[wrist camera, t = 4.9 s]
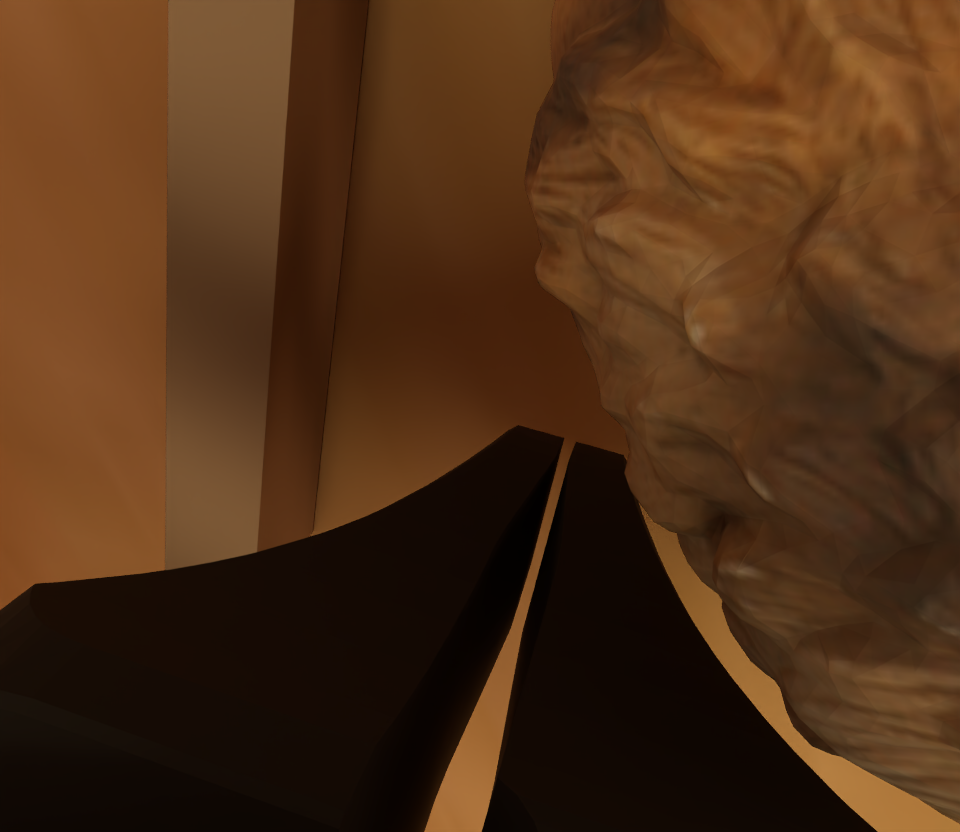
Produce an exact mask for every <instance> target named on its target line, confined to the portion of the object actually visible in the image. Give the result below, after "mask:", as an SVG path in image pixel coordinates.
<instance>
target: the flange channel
mask: <svg viewBox="0 0 960 832" xmlns="http://www.w3.org/2000/svg"><path fill="white" fill-rule="evenodd" d="M368 1H369V0H168V137H167V338H166V538H165V570H170V569H176V568H182V567H187V566H193V565H199V564H204V563H210V562H215V561H219V560H224V559H229V558H233V557H238V556H243V555H247V554H251V553H255V552H259V551H262V550H266V549H269V548H273V547H276V546H280V545H283V544H287V543H290V542H293V541H297V540H300V539H304V538H307V537H309V536H310V535H311V533H312V532H313V523H314V513H315V504H316V494H317V485H318V475H319V466H320V456H321V447H322V437H323V428H324V418H325V409H326V399H327V390H328V380H329V371H330V362H331V352H332V343H333V333H334V324H335V314H336V305H337V295H338V286H339V276H340V267H341V257H342V248H343V238H344V229H345V219H346V210H347V200H348V191H349V181H350V172H351V162H352V153H353V143H354V134H355V125H356V115H357V106H358V96H359V87H360V77H361V68H362V58H363V49H364V39H365V30H366V20H367V11H368Z"/></svg>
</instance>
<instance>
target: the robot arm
mask: <svg viewBox="0 0 960 832" xmlns="http://www.w3.org/2000/svg"><path fill="white" fill-rule="evenodd" d="M563 441H564V438H562V437H558V436H555V435H551V434H548V433H544V432H540V431H537V430H533V429H530V428H526V427H523V426H519V425H518V426H516V427H514V428H512V429H510V430H508V431H507V432H506V433H504V434H503V435H502V436H500V437H499V438H498V439H496V440H495V441H494V442H492V443H491V444H490V445H488V446H487V447H486V448H484V449H483V450H481V451H480V452H478V453H477V454H476V455H474V456H473V457H471V458H470V459H468V460H467V461H465V462H464V463H462V464H461V465H459V466H457V467H456V468H454V469H453V470H451V471H450V472H448V473H446V474H445V475H443V476H442V477H440V478H438V479H437V480H435V481H434V482H432V483H430V484H428V485H427V486H425V487H423V488H421V489H419V490H417V491H415V492H414V493H412V494H410V495H408V496H406V497H404V498H402V499H401V500H399V501H397V502H395V503H393V504H391V505H389V506H387V507H385V508H383V509H381V510H379V511H377V512H375V513H372V514H370V515H368V516H366V517H363V518H361V519H358V520H356V521H353V522H350V523H348V524H345V525H343V526H340V527H338V528H335V529H332V530H329V531H327V532H324V533H321V534H317V535H314V536H311V537H307V538H304V539H300V540H297V541H293V542H290V543H287V544H283V545H280V546H276V547H273V548H269V549H266V550H262V551H259V552H255V553H251V554H247V555H243V556H238V557H233V558H229V559H224V560H219V561H215V562H210V563H204V564H199V565H193V566H187V567H182V568H176V569H170V570H164V571H157V572H150V573H143V574H134V575H124V576H114V577H105V578H95V579H85V580H76V581H66V582H54V583H40V584H34V585H33V586H32V587H30V588H29V589H28V590H26V591H25V592H24V593H22V594H21V595H20V596H18V597H17V598H16V599H14V600H13V601H12V602H11V603H9V604H8V605H7V606H5V607H4V608H3V609H1V610H0V832H424V831H425V828H426V825H427V822H428V819H429V816H430V813H431V810H432V807H433V804H434V801H435V798H436V796H437V793H438V791H439V788H440V786H441V783H442V781H443V778H444V776H445V773H446V771H447V768H448V766H449V764H450V762H451V759H452V757H453V755H454V753H455V751H456V748H457V746H458V744H459V742H460V740H461V737H462V735H463V733H464V731H465V728H466V726H467V724H468V722H469V720H470V717H471V715H472V713H473V711H474V709H475V706H476V704H477V702H478V700H479V698H480V695H481V693H482V691H483V689H484V687H485V684H486V682H487V680H488V678H489V675H490V673H491V671H492V669H493V667H494V664H495V662H496V660H497V658H498V655H499V653H500V651H501V649H502V647H503V644H504V642H505V640H506V638H507V635H508V633H509V631H510V629H511V626H512V623H513V619H514V616H515V613H516V610H517V607H518V604H519V600H520V597H521V594H522V591H523V588H524V585H525V581H526V578H527V575H528V572H529V569H530V565H531V562H532V558H533V554H534V550H535V547H536V543H537V539H538V535H539V531H540V528H541V524H542V520H543V516H544V513H545V509H546V505H547V501H548V497H549V494H550V490H551V486H552V482H553V479H554V475H555V471H556V467H557V463H558V460H559V456H560V452H561V448H562V445H563ZM626 464H627V461H626V459H625V457H624V455H621V454H618V453H614V452H611V451H607V450H604V449H600V448H597V447H593V446H590V445H586V444H583V443H579V442H576V443H575V446H574V448H573V451H572V454H571V456H570V459H569V462H568V466H567V470H566V473H565V477H564V481H563V484H562V488H561V492H560V495H559V499H558V503H557V506H556V510H555V514H554V517H553V521H552V525H551V528H550V532H549V536H548V540H547V543H546V547H545V551H544V554H543V558H542V562H541V565H540V569H539V573H538V576H537V580H536V584H535V587H534V591H533V595H532V598H531V602H530V606H529V609H528V613H527V617H526V621H525V624H524V628H523V632H522V637H521V642H520V647H519V653H518V658H517V663H516V669H515V674H514V679H513V685H512V690H511V696H510V701H509V706H508V712H507V717H506V722H505V728H504V733H503V739H502V744H501V749H500V755H499V760H498V766H497V771H496V776H495V782H494V786H493V791H492V795H491V799H490V804H489V808H488V812H487V815H486V819H485V822H484V826H483V829H482V832H877V831H876V830H875V829H874V828H873V827H872V826H870V825H869V824H868V823H867V822H866V821H865V820H864V819H863V818H861V817H860V816H859V815H858V814H857V813H856V812H855V811H854V810H852V809H851V808H850V807H849V806H848V805H847V804H846V803H845V802H844V801H843V800H842V799H841V798H840V797H839V796H838V795H837V794H836V793H835V792H834V791H833V790H832V789H831V788H830V787H829V786H828V785H827V784H826V783H825V782H824V781H823V780H822V779H821V778H820V777H819V776H818V775H817V774H816V773H815V772H814V771H813V770H812V769H811V768H810V767H809V766H808V765H807V764H806V763H805V762H804V761H803V760H802V759H801V758H800V757H799V756H798V755H797V754H796V753H795V752H794V750H793V749H792V748H791V747H790V746H789V745H788V744H787V743H786V742H785V741H784V739H783V738H782V737H781V736H780V735H779V734H778V733H777V732H776V731H775V729H774V728H773V727H772V726H771V725H770V724H769V723H768V722H767V720H766V719H765V718H764V717H763V716H762V714H761V713H760V712H759V711H758V710H757V708H756V707H755V706H754V705H753V703H752V702H751V701H750V700H749V698H748V697H747V696H746V695H745V693H744V692H743V691H742V690H741V689H740V687H739V686H738V685H737V684H736V682H735V681H734V680H733V679H732V677H731V676H730V675H729V673H728V672H727V671H726V669H725V668H724V667H723V665H722V664H721V663H720V661H719V660H718V659H717V657H716V656H715V654H714V653H713V651H712V650H711V648H710V647H709V645H708V644H707V642H706V641H705V639H704V638H703V636H702V635H701V633H700V632H699V630H698V629H697V627H696V626H695V624H694V622H693V621H692V619H691V617H690V616H689V614H688V612H687V610H686V609H685V607H684V605H683V603H682V601H681V600H680V598H679V596H678V594H677V592H676V590H675V588H674V586H673V584H672V582H671V580H670V578H669V576H668V574H667V572H666V570H665V568H664V566H663V563H662V561H661V559H660V557H659V555H658V552H657V550H656V547H655V545H654V542H653V540H652V538H651V535H650V533H649V530H648V528H647V525H646V523H645V520H644V517H643V515H642V512H641V509H640V506H639V503H638V500H637V499H636V498H635V496H634V495H633V494H632V492H631V490H630V487H629V485H628V482H627V479H626V476H625V473H624V472H625V468H626Z"/></svg>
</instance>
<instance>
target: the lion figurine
mask: <svg viewBox="0 0 960 832" xmlns="http://www.w3.org/2000/svg"><path fill="white" fill-rule="evenodd" d="M551 59H552V68H553V76H554V83H553V85H552V87H551V88H550V90H549V92H548V94H547V96H546V98H545V100H544V102H543V103H542V105H541V107H540V109H539V111H538V113H537V116H536V120H535V125H534V130H533V134H532V139H531V145H530V150H529V156H528V161H527V167H526V173H525V189H526V193H527V196H528V199H529V202H530V205H531V208H532V211H533V214H534V217H535V220H536V222H537V225H538V235H539V241H540V244H541V247H542V250H541V252H540V255H539V257H538V260H537V262H536V265H535V267H534V270H535V273H536V277H537V280H538V283H539V284H540V285H541V287H542V288H543V289H544V290H545V291H547V292H548V293H550V294H551V295H553V296H554V297H555V298H557V299H558V300H560V301H561V302H562V303H564V304H565V305H566V306H568V307H569V308H570V310H571V312H572V315H573V318H574V320H575V323H576V326H577V328H578V331H579V334H580V337H581V341H582V344H583V346H584V348H585V350H586V352H587V354H588V356H589V358H590V361H591V363H592V365H593V367H594V371H595V374H596V378H597V382H598V385H599V389H600V400H601V406H602V407H603V408H604V409H605V410H606V411H607V412H608V413H609V414H610V415H611V416H612V417H613V418H614V419H615V420H616V421H617V422H618V423H619V424H620V425H621V426H622V427H623V428H624V429H625V431H626V438H627V442H628V446H629V451H630V452H629V456H628V460H627V464H626V468H625V472H624V473H625V476H626V479H627V482H628V485H629V487H630V490H631V492H632V494H633V495H634V496H635V498H636V499H637V500H638V502H639V503H640V504H641V505H642V507H643V508H644V509H645V511H646V512H647V513H648V515H649V516H650V517H651V519H652V520H653V521H654V522H655V523H657V524H659V525H660V526H662V527H664V528H665V529H667V530H669V531H671V532H675V533H677V536H678V539H679V543H680V546H681V549H682V551H683V553H684V555H685V557H686V560H687V562H688V564H689V565H690V566H691V568H692V569H693V570H694V572H695V573H696V574H697V575H698V577H699V578H700V579H701V581H702V582H704V583H705V584H706V585H707V586H708V587H710V588H711V589H712V590H714V591H715V592H716V593H718V594H719V596H720V598H721V599H722V600H723V601H722V609H723V612H724V615H725V618H726V621H727V624H728V626H729V629H730V632H731V633H732V635H733V636H734V637H735V639H736V640H737V642H738V643H739V645H740V646H741V648H742V649H743V651H744V652H745V653H746V655H747V656H748V658H749V659H750V661H751V662H752V663H754V664H755V665H756V666H757V667H758V668H759V669H761V670H762V671H763V672H764V673H765V674H767V675H768V676H769V677H771V678H772V679H774V680H775V681H776V683H777V684H778V686H779V687H780V689H781V693H782V697H783V700H784V704H785V708H786V711H787V713H788V716H789V718H790V720H791V722H792V724H793V727H794V728H795V729H796V730H797V731H798V732H799V733H800V734H801V735H802V736H803V737H804V738H805V739H806V740H807V741H808V742H809V744H810V745H811V746H813V747H815V748H818V749H820V750H823V751H825V752H827V753H830V754H832V755H837V756H841V757H843V758H845V759H846V760H848V761H850V762H852V763H854V764H855V765H857V766H859V767H861V768H862V769H864V770H866V771H868V772H869V773H871V774H873V775H875V776H877V777H878V778H880V779H882V780H884V781H886V782H888V783H890V784H891V785H893V786H895V787H897V788H899V789H901V790H903V791H905V792H907V793H909V794H911V795H912V796H915V797H917V798H919V799H920V800H921V801H923V802H924V803H926V804H927V805H929V806H931V807H932V808H934V809H935V810H937V811H938V812H940V813H941V814H943V815H945V816H947V817H948V818H950V819H952V820H954V821H956V822H958V823H959V824H960V0H555V3H554V7H553V12H552V22H551Z"/></svg>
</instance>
